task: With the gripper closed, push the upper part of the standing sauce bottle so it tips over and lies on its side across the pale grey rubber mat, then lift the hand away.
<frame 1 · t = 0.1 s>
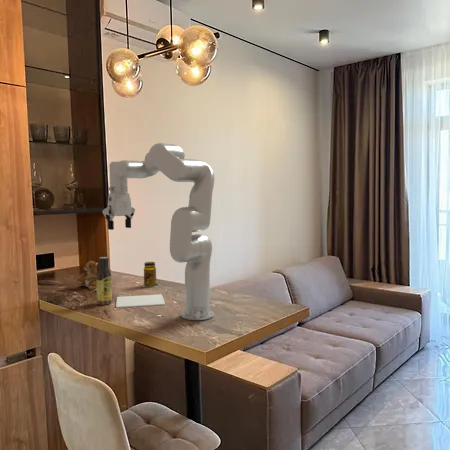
hand: (119, 228, 188), 31 cm above the breakfast bar, tool pointing down, fingers open, 9 cm apart
stuffed squirrel: (95, 286, 213), on the breakfast bar
sauce bottle: (104, 303, 181), on the breakfast bar
condiment: (150, 286, 214), on the breakfast bar
mat: (140, 301, 184), on the breakfast bar
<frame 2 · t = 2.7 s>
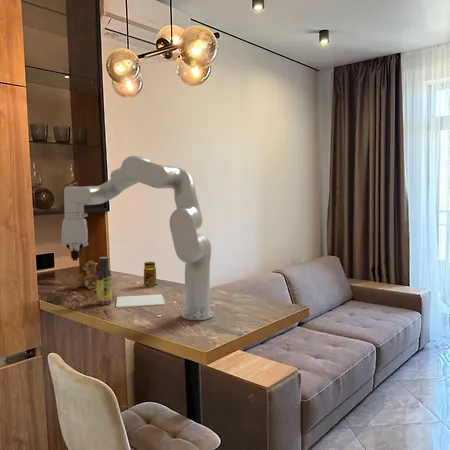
hand: (75, 259, 177), 19 cm above the breakfast bar, tool pointing down, fingers closed
nothing on the breakfast bar moved.
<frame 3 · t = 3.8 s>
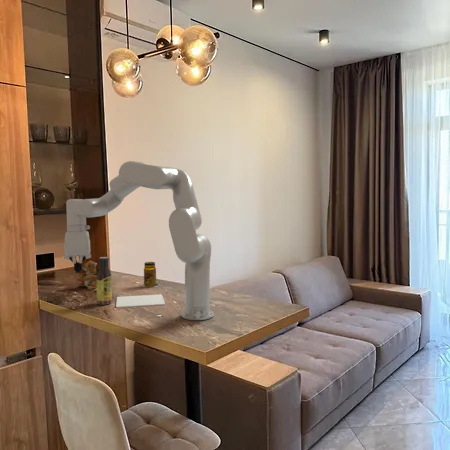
hand: (78, 272, 177), 14 cm above the breakfast bar, tool pointing down, fingers closed
nothing on the breakfast bar moved.
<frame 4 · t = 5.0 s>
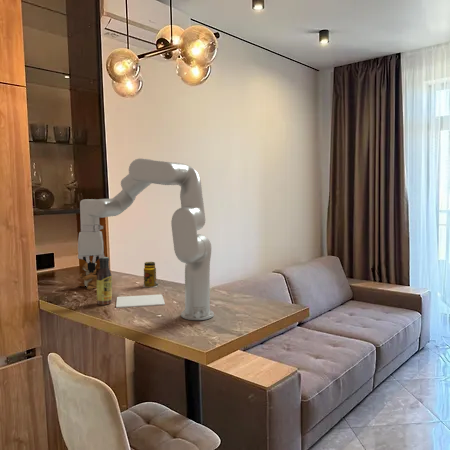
hand: (91, 271, 179), 14 cm above the breakfast bar, tool pointing down, fingers closed
sauce bottle: (104, 303, 181), on the breakfast bar, touching gripper
everything else where it was.
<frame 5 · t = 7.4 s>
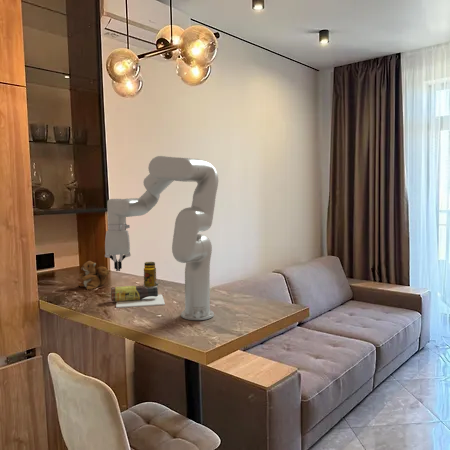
hand: (118, 270, 181), 14 cm above the breakfast bar, tool pointing down, fingers closed
sauce bottle: (110, 294, 182), point 3 cm above the breakfast bar, touching mat
everything else where it was.
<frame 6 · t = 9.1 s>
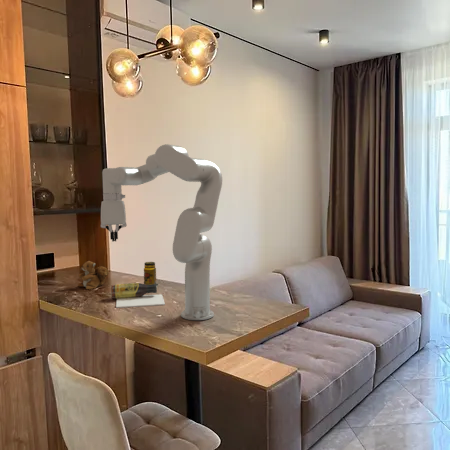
hand: (114, 241, 179), 27 cm above the breakfast bar, tool pointing down, fingers closed
sauce bottle: (110, 292, 187), point 3 cm above the breakfast bar, touching mat
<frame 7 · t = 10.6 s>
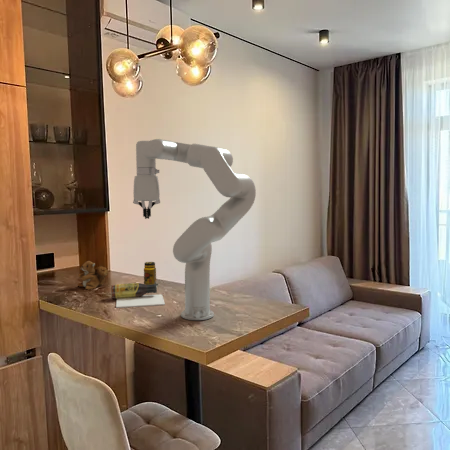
hand: (147, 218, 170), 37 cm above the breakfast bar, tool pointing down, fingers closed
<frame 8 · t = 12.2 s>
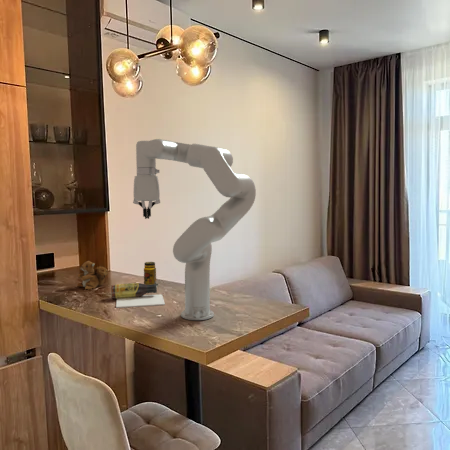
hand: (147, 218, 170), 37 cm above the breakfast bar, tool pointing down, fingers closed
at the end: sauce bottle tilted 87°; sauce bottle inside the target area (6.6 cm from its centre), point 3.2 cm above the breakfast bar; sauce bottle touching mat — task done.
